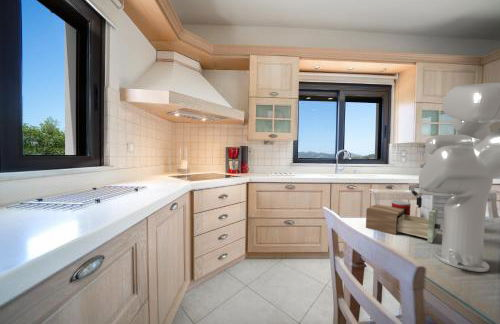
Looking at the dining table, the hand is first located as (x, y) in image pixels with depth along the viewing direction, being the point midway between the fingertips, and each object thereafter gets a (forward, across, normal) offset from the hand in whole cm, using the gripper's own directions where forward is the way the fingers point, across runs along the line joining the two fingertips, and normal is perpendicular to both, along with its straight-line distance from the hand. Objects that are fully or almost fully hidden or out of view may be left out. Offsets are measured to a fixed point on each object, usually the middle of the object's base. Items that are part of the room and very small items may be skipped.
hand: (434, 209), depth 89 cm
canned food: (+12, -14, +13) cm, 23 cm away
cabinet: (+12, -18, +1) cm, 22 cm away
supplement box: (+12, -1, +20) cm, 24 cm away
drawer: (+12, -5, +1) cm, 13 cm away
